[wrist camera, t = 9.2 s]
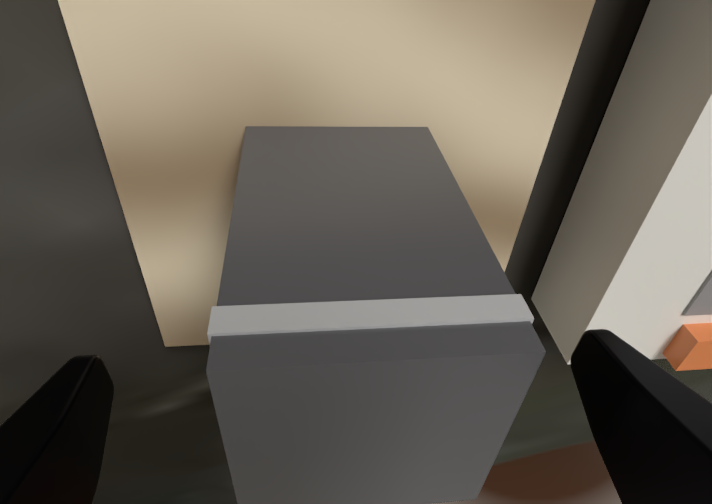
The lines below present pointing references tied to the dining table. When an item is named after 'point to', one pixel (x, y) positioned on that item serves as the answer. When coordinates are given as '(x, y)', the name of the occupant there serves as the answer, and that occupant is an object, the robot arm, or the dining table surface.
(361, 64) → the birch pad
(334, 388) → the block
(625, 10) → the dining table surface
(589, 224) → the switch housing
